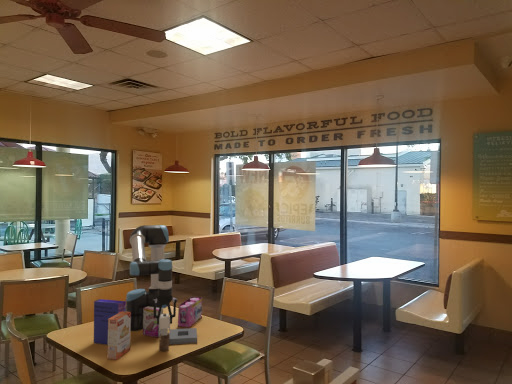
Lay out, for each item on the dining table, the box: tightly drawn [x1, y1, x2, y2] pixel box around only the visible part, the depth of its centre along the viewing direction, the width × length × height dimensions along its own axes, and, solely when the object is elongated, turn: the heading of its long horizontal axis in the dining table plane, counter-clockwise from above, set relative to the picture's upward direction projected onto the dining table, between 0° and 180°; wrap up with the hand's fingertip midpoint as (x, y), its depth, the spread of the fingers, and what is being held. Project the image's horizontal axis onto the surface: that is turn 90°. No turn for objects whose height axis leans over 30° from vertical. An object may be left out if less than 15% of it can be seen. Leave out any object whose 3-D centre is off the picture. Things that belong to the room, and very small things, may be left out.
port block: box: [168, 327, 198, 345], centre depth 231 cm, size 16×16×3 cm
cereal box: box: [93, 298, 126, 346], centre depth 223 cm, size 17×5×24 cm, turn 76°
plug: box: [160, 313, 170, 336], centre depth 218 cm, size 4×6×11 cm
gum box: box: [177, 296, 203, 328], centre depth 261 cm, size 24×8×14 cm, turn 166°
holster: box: [158, 332, 170, 352], centre depth 217 cm, size 5×10×6 cm, turn 10°
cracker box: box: [106, 311, 131, 361], centre depth 207 cm, size 14×6×21 cm, turn 170°
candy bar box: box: [142, 306, 164, 338], centre depth 236 cm, size 11×5×16 cm, turn 71°
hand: (164, 329), depth 218 cm, fingers closed on plug, 4 cm apart
